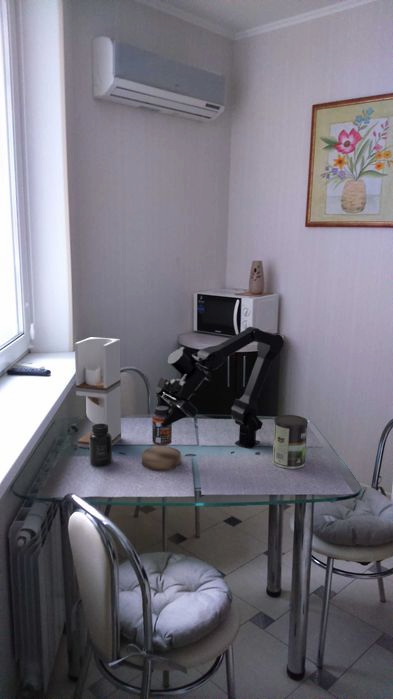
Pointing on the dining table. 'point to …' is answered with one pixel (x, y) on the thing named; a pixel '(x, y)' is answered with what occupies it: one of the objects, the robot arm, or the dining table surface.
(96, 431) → the supplement bottle
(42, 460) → the dining table surface
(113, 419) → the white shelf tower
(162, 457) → the walnut stand
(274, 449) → the coffee can
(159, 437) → the supplement bottle
